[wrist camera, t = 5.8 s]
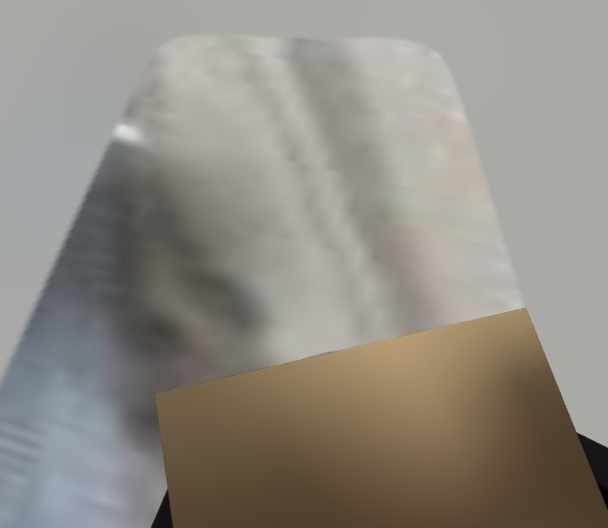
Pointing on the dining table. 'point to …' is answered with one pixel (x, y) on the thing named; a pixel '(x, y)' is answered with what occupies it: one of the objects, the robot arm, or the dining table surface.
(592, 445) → the robot arm
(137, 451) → the dining table surface
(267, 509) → the wooden stool
